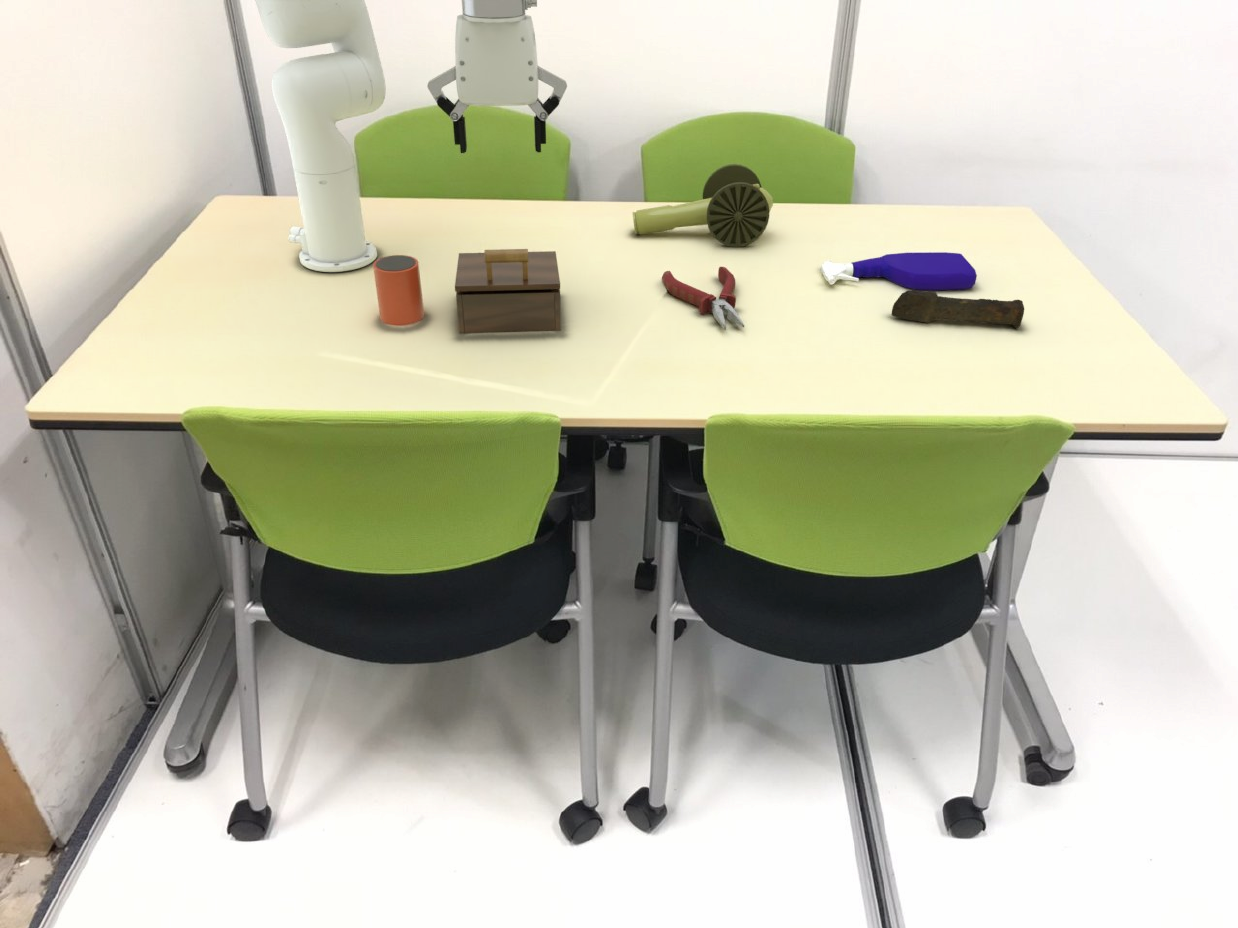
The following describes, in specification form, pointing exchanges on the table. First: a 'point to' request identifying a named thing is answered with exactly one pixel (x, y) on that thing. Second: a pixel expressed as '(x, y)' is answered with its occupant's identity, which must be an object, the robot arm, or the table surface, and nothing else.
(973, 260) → the table surface
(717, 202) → the cannon
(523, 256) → the lid
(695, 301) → the pliers
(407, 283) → the tin
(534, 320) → the box
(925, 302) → the hand tool
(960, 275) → the spray bottle
